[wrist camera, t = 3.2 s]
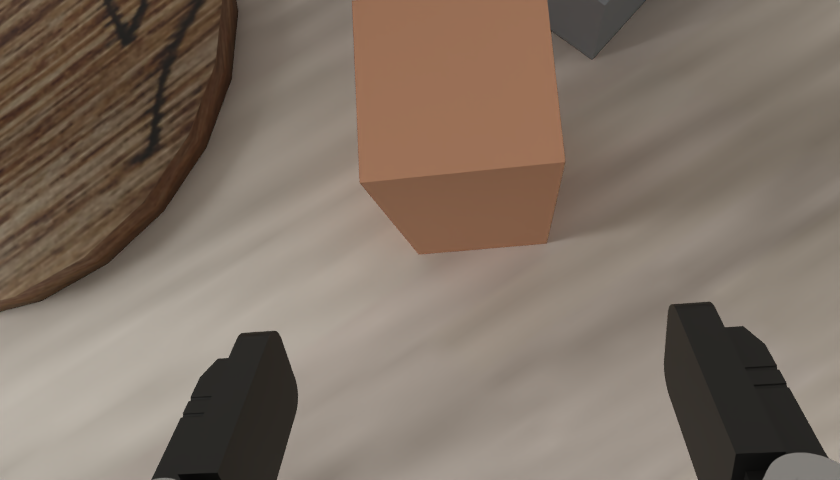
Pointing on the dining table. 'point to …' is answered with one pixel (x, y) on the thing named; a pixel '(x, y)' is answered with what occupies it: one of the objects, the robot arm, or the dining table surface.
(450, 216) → the terracotta block
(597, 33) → the charcoal plinth
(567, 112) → the dining table surface
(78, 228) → the trivet
